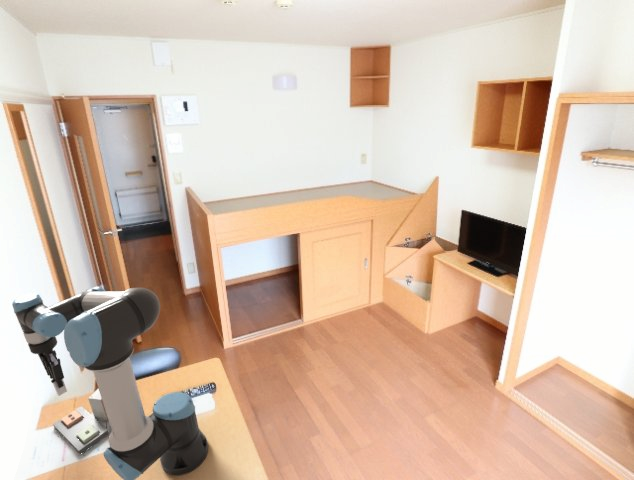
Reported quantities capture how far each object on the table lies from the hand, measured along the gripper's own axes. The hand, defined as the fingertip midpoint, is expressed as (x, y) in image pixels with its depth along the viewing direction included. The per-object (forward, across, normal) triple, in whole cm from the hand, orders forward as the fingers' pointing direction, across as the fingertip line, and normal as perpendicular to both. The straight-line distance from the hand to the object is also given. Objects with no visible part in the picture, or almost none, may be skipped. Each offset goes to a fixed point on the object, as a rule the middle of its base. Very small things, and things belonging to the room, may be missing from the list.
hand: (62, 392), depth 133 cm
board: (+15, -6, 0) cm, 16 cm away
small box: (+15, -6, -10) cm, 19 cm away
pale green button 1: (+16, -12, 0) cm, 20 cm away
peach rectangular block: (+16, 0, 0) cm, 16 cm away
